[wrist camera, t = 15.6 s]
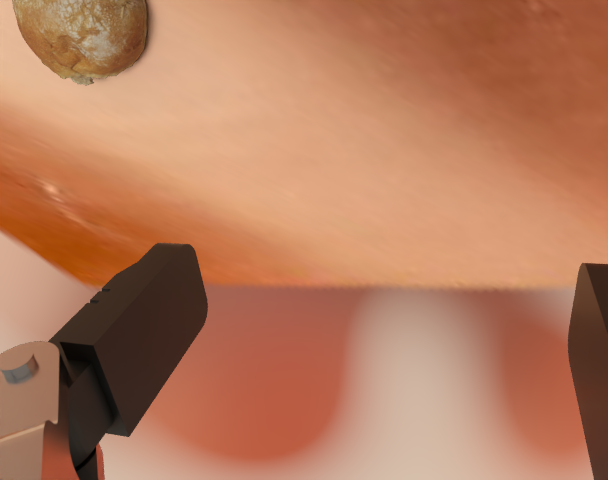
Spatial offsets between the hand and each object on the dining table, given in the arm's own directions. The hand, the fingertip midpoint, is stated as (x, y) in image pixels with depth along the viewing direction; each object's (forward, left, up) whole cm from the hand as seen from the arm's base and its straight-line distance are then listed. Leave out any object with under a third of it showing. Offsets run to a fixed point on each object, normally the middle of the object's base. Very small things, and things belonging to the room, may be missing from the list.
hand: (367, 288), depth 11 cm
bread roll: (-3, -27, -30) cm, 41 cm away
